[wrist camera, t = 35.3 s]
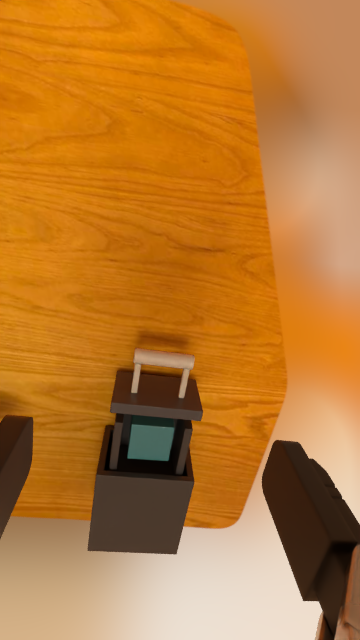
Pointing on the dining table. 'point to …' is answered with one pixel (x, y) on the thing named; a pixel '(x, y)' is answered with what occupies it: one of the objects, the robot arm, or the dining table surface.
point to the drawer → (155, 410)
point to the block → (150, 437)
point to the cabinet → (138, 507)
